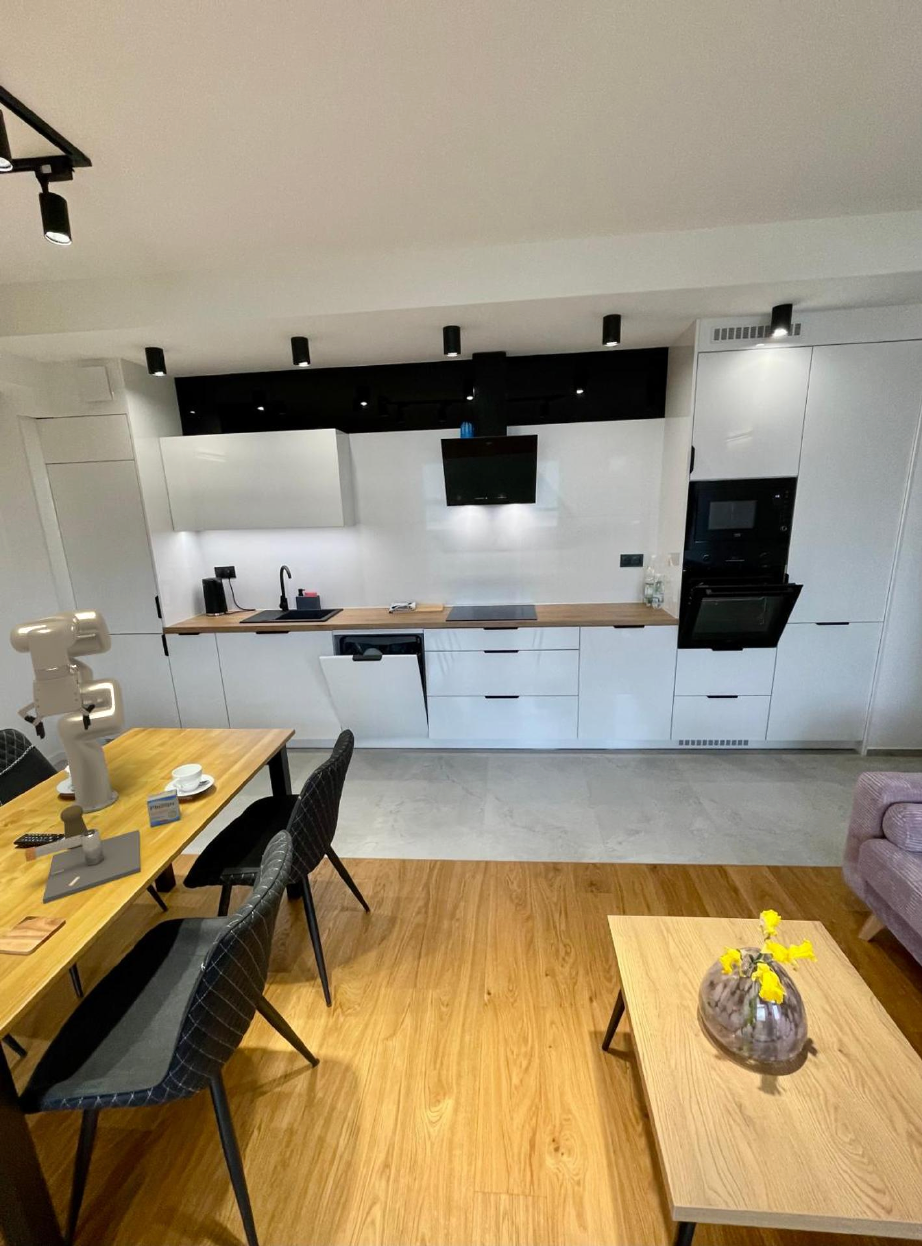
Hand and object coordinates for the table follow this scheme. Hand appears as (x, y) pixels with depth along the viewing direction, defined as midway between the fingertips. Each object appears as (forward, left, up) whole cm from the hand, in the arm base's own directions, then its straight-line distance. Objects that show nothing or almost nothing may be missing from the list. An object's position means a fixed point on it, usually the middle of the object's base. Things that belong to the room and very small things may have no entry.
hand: (65, 732), depth 140 cm
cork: (-1, -2, -34) cm, 34 cm away
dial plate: (+14, +3, -34) cm, 36 cm away
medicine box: (+1, +20, -34) cm, 39 cm away
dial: (+14, -3, -32) cm, 35 cm away
